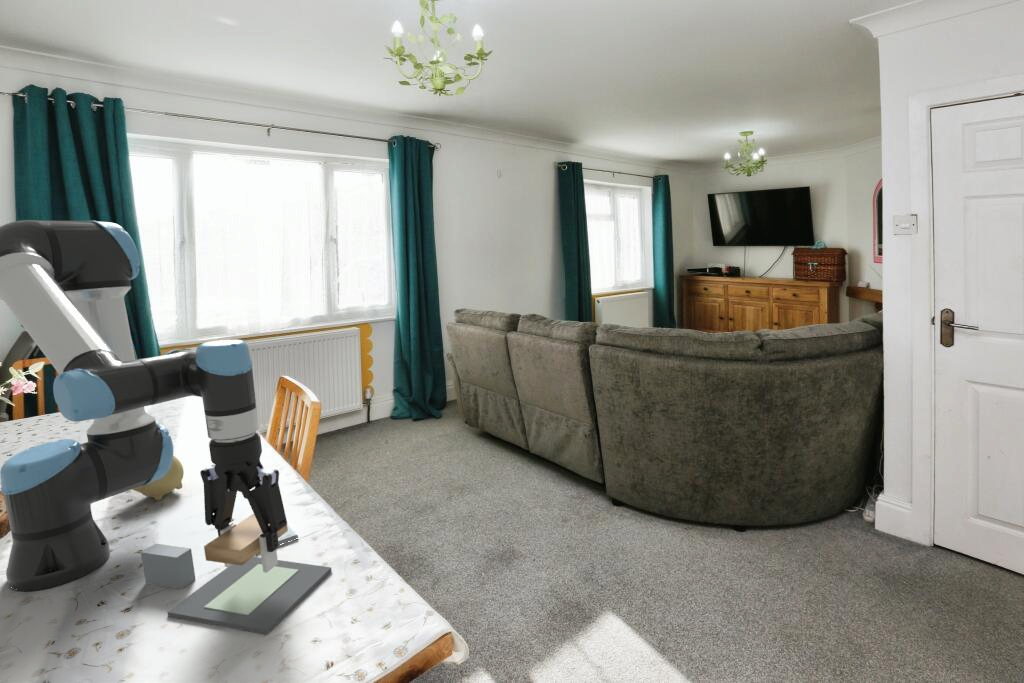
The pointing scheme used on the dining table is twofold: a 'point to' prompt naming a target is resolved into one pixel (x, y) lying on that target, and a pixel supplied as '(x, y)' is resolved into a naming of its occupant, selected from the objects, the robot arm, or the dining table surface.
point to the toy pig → (164, 482)
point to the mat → (251, 595)
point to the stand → (168, 566)
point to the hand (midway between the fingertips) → (251, 565)
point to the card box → (237, 543)
